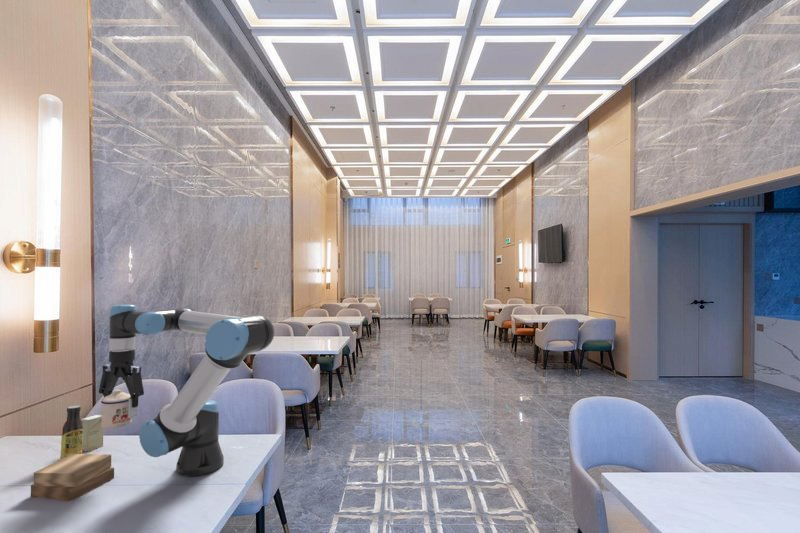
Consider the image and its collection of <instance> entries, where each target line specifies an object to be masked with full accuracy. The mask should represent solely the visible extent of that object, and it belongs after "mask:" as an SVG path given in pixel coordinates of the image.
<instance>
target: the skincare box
mask: <svg viewBox="0 0 800 533" xmlns="http://www.w3.org/2000/svg"><path fill="white" fill-rule="evenodd" d="M80 419H81V421H82V423H83V441H82V452H83V451H84V452H90V451H93V450H96V449H99V448H101V447H104V428H103V427H102V426H101V423H102V414H94V415H91V416H87V417H84V418H80Z"/></svg>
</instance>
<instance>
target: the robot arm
mask: <svg viewBox="0 0 800 533" xmlns="http://www.w3.org/2000/svg"><path fill="white" fill-rule="evenodd" d="M109 314H110V315H109V317H108V318H109V340H108V342H109V343H108V349H109V352H108V361H109V362H110V364H109V363H108V364H105V365H103V366H102V375H101V378H100V383H99V388H98V394H99V395H101V394H102V395H103V398H104V397H107V396H109V395H110V394H112V393H114V390H115V387H116V384H117V383H118V381H119V379H120V378H121V379H122V381H124V383H125V385H126V388H127V390H128V394H130V396H131V397H130V398H129V403H128V418H131V417H132V418H134V417H136V416H138V415H137V414H138V411H137V410H138V407H139V398H140V396H141V397H142V396H143V395H144V394H145V390H144V385H143V384H144V383H143V378H142V366H141V365H139V366H135V365H134V361H135V359H136V350H135V347H136V335H145V336H149V335H151V336H152V335H158V334H160V333H162V332H163V333H164V332H171V331H180V332H187V333H194V334H199V335H200V334H201V335H205V337H204V339H205V341H204V353H205V356H204V357H203V358H202V360H201V361H200V363H199V364H198V365H197V366H196V368H195V370H194V371H193V373H192V374H191V375H190V377H189V378H188V379H187V381H186V382H185V384H184V385H183V387H182V388H181V390H180V391H179V393H178V394H177V395H176V397H174V400H173V401H172V402H170V403H167V404H165V405H164V406H163V407H162V408H161V409H160V411H159V412H158V413H157V415H156V416H155V417H154V418H152V419H148V420H147V421H145V422H143V424H142V425H140V428H139V433H138V434H139V435H138V438H139V443H140V446H141V448H142V450H143V451H144V452H145V454H147V455H148V456H150V457H152V458H153V457H154V458H159V457H162V456H165V455H166V456H167V454H169V453H171V452H173V451H174V452H175V451H176V450H178V449H181V450H180V453H179V456H178V459H177V462H176V465H175V466H176V467H175V469H176V470H175V471H176V473H177V474H178V475H179V476H183V477H197V476H204V475H207V474H210V473H213V472H215V471H217V470H218V469H221V467H222V466H223V465H224V464H225V463H224V459H225V458H224V454H223V452H222V448H221V446H220V443H219V428H220V426H219V425H220V421H219V418H220V417H219V416H220V409H219V404H218V402H217V401H216V400H214V399H213V400H212V399H210V398H211V396H212V395H213V394H214V393H215V391H216V390H217V389H218V387H219V385H221V383H222V381H223V380H224V379H225V378H226V376H227V375H228V373H229V372H230V371H231V370H235V369H237V368H239V366H241V364H242V363H243V361H244V360H245V359H246V357H247V356H248V355H249V354H253V353H257V352H260V351H263V350H265V349H267V348H268V347H269V346H270V344H272V342H273V340H274V337H275V328H274V325H273V323H272V321H271V320H270V319H269V318H267V317H266V316H263V315H259V314H258V315H257V314H255V315H250V314H245V315H242V316H241V317H240V316H233V315H226V314H218V313H217V314H216V313H212V312H211V313H209V312H203V311H202V312H201V311H194V310H191V309H190V308H179V307H178V308H176V309H175V308H174V309H160V310H149V311H137V307H136V305H135V304H115V305H112V306H110V313H109Z"/></svg>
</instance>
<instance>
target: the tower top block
mask: <svg viewBox="0 0 800 533" xmlns="http://www.w3.org/2000/svg"><path fill="white" fill-rule="evenodd" d="M110 467H111V468H112V454H111V453H110V454H107V453H106V454H103V453H102V454H101V453H99V454H98V453H82V454H71V455H69V456H67V457H65V458H63V459H59V460H57V461H55V462H52V463H51V464H49V465H46V466H44V467H43V468H41V469H39V470H36V471H34V472H33V481H32V482H33V486H56V487H77V486H79V485H81V484H82V483H84V482H86V481H88V480H89V479H91V478H93V477H94V476H96V475H98V474H99V473H101V472H103V471H105V470H106V469H108V468H110Z"/></svg>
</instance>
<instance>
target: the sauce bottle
mask: <svg viewBox="0 0 800 533" xmlns="http://www.w3.org/2000/svg"><path fill="white" fill-rule="evenodd" d="M81 409H82V406H81V405H70V406H68V407H67V408H66V412H67V413H66V421H65V422H64V424H63V426H62V430H61V431H62V432H61V442H60V443H61V444H60V457H59V458H60V459H59V460H61V459H63V458H65V457H67V456H69V455H71V454H83V450H82V441H83V423H82V421H81V419H82V418H81V411H82V410H81Z"/></svg>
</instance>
